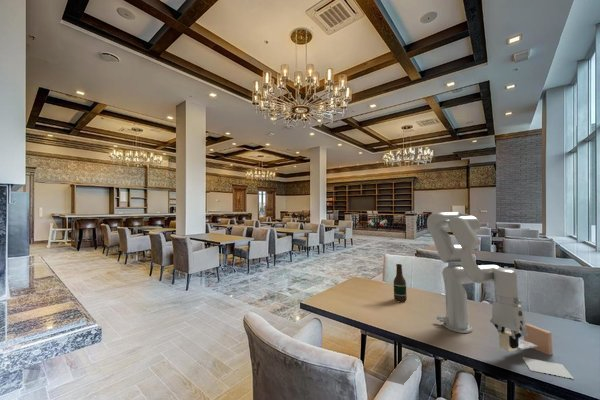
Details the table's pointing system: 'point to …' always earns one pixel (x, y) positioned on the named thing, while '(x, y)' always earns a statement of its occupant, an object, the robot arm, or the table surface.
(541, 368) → the mat
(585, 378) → the table surface
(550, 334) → the tile
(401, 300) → the beer bottle
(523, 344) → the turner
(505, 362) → the table surface
